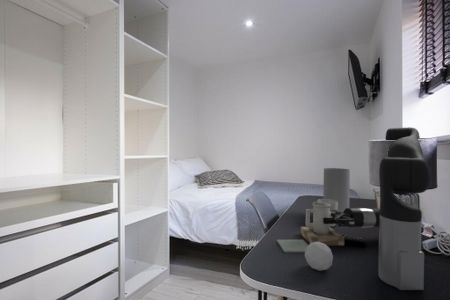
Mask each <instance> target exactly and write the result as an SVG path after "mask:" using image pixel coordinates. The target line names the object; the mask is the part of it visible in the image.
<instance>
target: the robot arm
mask: <svg viewBox="0 0 450 300" xmlns="http://www.w3.org/2000/svg"><path fill="white" fill-rule="evenodd" d="M420 138H421V137H420V132H419V131H418V129H417V128H416V127H410V126H409V127H391V128H390V127H389V128H388V129H387V130H386V133H385V140H396V141H394V142H393V143H392V144H391V145H390V147H389V151H388V158H387V157H384V158H382V159H381V160H380V162H379V169H378V170H379V171H378V173H379V193H380V194H379V208H368V207H367V208H366V207H349V208H346V209H345V210H344V212H343V213H341V212H340V211H337V210H330V218H323V223H324V224H334V225H335V226H338V227H347V228H350V229H351V228H352V229H353V228H359V229H361V228H365V229H367V228H378V231H379V232H378V234H379V235H378V236H379V237H378V278H379V279H380V280H381V281H382V282H383V283H385V284H387V285H389V286H393V287H394V288H396V289H398V290H400V291H424V287H425V286H424V285H425V282H424V281H425V279H424V278H425V253H424V252H423V251H422V223H423V222H422V219H423V217H422V216H423V212H422V210H421V209H420V208H419V207H418V206H415V205H414V204H413V205H410V204H408V203H405V202H403V201H401V200H400V199H398V198H397V197H396V196H395V195H394V194H393V193H396V194H400V195H401V194H406V193H411V194H422V193H425V192H426V191H427V190H428V188H429V187H430V183H431V171H430V167H429V164H428V162H427V160H426V159H425V158H424V152H423V149H422V146H421V144H420V143H419V141H418V139H420ZM420 140H421V139H420Z"/></svg>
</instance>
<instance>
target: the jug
mask: <svg viewBox="0 0 450 300" xmlns="http://www.w3.org/2000/svg"><path fill="white" fill-rule="evenodd" d="M312 206H313V207H312V208H306V209H305V227H313V233H314V234H315V235H330V228H331V227H330V224H324V223H323V218H330V207H331V204H330V203H326V202H317V201H313V202H312ZM311 213H312V216H313V217H312V222H311Z"/></svg>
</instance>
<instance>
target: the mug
mask: <svg viewBox="0 0 450 300" xmlns="http://www.w3.org/2000/svg"><path fill="white" fill-rule="evenodd" d="M316 202H326V203H330V204H331V207H330V210H337V211H338V202H337V201H335V200H331V199H323V198H319V199H317V200H316ZM335 226H336V225H334V224H330V228H333V227H335Z"/></svg>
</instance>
